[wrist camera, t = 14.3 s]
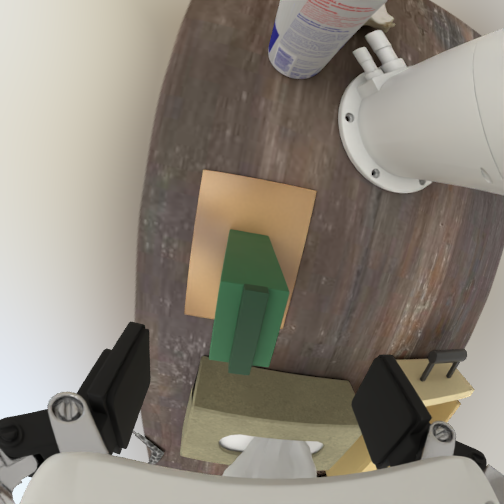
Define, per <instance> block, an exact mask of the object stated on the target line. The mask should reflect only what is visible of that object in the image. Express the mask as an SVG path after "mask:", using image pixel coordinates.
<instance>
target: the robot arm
mask: <svg viewBox="0 0 504 504" xmlns="http://www.w3.org/2000/svg"><path fill="white" fill-rule="evenodd" d="M365 39H366V41H367V42H368V44H369V45H370V47H371V48H372V50H373V52H374V53H376V55H377V56H378V58H379V60H380V61H381V63H382V65H381V66H380V67H378V68H377V66H376V64H375V63H374V61H373V58H372V56H371V55H370V53H369V52H368V50H367V48H366V47H361V48H359V49H357V50H355V51H353V54H354V56H355V58H356V59H357V61H358V62H359V64H361V66H362V68H363V69H364V71H365V72H364V73H362V74H360V75H359V76H357V77H356V78H355V79H354V80H353V81H352V82H351V83H350V84H349V85H348V87H347V88H346V90H345V92H344V94H343V96H342V98H341V102H340V106H339V115H338V124H339V132H340V136H341V140H342V143H343V146H344V149H345V151H346V153H347V155H348V157H349V159H350V160H351V162H352V163H353V165H354V166H355V168H356V169H357V170H358V171H359V172H360V173H361V174H362V175H363V176H364V177H365V178H366V179H367V180H369V181H370V182H371V183H373V184H374V185H376V186H378V187H380V188H382V189H384V190H388V191H391V192H397V193H412V192H416V191H419V190H421V189H423V188H425V187H426V186H428V185H429V184H431V183H432V182H439V183H445V184H451V185H456V186H462V187H467V188H472V189H477V190H482V191H486V192H491V193H495V194H500V195H504V28H503V29H500V30H497V31H494V32H492V33H489V34H486V35H484V36H482V37H479V38H477V39H474V40H472V41H469V42H466V43H464V44H461V45H459V46H457V47H454V48H452V49H449V50H447V51H445V52H442V53H440V54H438V55H436V56H433V57H431V58H429V59H427V60H425V61H422V62H420V63H418V64H416V65H412V66H409V67H407V66H406V64H405V62H404V61H403V59H402V58H399V59H398V57H397V56H396V54H395V52H394V51H393V49H392V47H391V46H392V45H391V44H390V42H389V41H388V39H387V38H386V36H385V34H384V33H383V31H382V30H376V31H373V32H371V33H369V34H367V35H366V36H365ZM345 117H348V119H349V121H347V120H346V118H345ZM372 171H373V172H374V174H373V176H372ZM149 384H150V354H149V330H148V329H145V325H143V324H139V323H135V322H130V323H129V324H128V325H127V327H126V328H125V330H124V332H123V333H122V335H121V336H120V338H119V339H118V341H117V343H116V344H115V346H114V347H113V349H112V350H110V349H105V350H104V351H103V352H102V354H101V355H100V357H99V358H98V360H97V362H96V363H95V365H94V366H93V368H92V370H91V371H90V373H89V374H88V376H87V378H86V379H85V381H84V382H83V384H82V386H81V387H80V389H79V391H78V392H77V394H76V393H72V392H62V393H58V394H56V395H55V396H53V397H52V398H51V399H50V401H49V403H48V409H46V410H42V411H37V412H32V413H28V414H23V415H18V416H13V417H7V418H4V419H1V420H0V504H15V503H14V501H13V497H12V492H13V489H14V488H15V487H16V486H17V485H19V484H20V483H22V481H21V480H22V479H23V478H25V477H27V476H29V477H32V479H31V481H30V482H29V484H28V486H27V488H26V490H25V492H24V495H23V497H22V499H21V502H20V504H504V475H502V474H501V473H500V472H498V471H497V470H496V469H494V468H493V467H492V466H490V465H487V466H486V458H485V456H484V454H483V453H481V452H480V451H478V450H476V449H474V448H471V447H469V446H467V445H464V444H462V443H460V442H458V441H456V433H455V430H454V429H453V427H452V426H451V425H449V424H448V423H446V422H444V421H435V422H433V423H432V424H430V423H429V421H430V420H431V419H432V417H431V415H430V413H429V412H428V410H427V408H426V407H425V405H424V403H423V402H422V400H421V398H420V397H419V395H418V394H417V392H416V390H415V389H414V387H413V386H412V384H411V383H410V381H409V379H408V378H407V376H406V375H405V373H404V372H403V370H402V369H401V367H400V366H399V364H398V363H397V361H396V359H395V358H394V357H393V356H392V355H379V356H378V357H377V358H375V359H374V361H373V363H372V365H371V367H370V369H369V371H368V373H367V374H366V376H365V378H364V380H363V382H362V384H361V385H360V387H359V389H358V391H357V393H356V394H355V396H354V398H353V400H352V404H351V405H352V409H353V412H354V414H355V417H356V420H357V422H358V425H359V428H360V430H361V433H362V436H363V439H364V441H365V444H366V447H367V450H368V452H369V455H370V458H371V461H372V463H373V464H375V465H376V468H377V470H373V471H367V472H361V473H354V474H347V475H338V476H328V477H316V478H296V479H262V478H241V477H229V476H219V475H211V474H203V473H196V472H190V471H184V470H178V469H173V468H168V467H163V466H158V465H153V464H149V463H144V462H140V461H136V460H131V459H126V458H123V457H117V456H112V453H113V452H114V453H117V454H120V453H121V450H122V448H124V449H126V448H127V446H128V444H129V441H130V438H131V435H132V432H133V429H134V426H135V423H136V421H137V418H138V414H139V412H140V409H141V407H142V404H143V401H144V398H145V396H146V393H147V390H148V388H149ZM389 466H390V467H389Z"/></svg>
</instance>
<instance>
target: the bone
mask: <svg viewBox="0 0 504 504" xmlns="http://www.w3.org/2000/svg"><path fill="white" fill-rule="evenodd" d="M393 20H394V18H393V17H392V16H390V15H389V14H388V13H387V11H386V7H385V4H383V5H382V6H381V7H380V8H379V9H378V10H377V11H376V12H375V13H374V14H373V15H372V16H371V17H370V18H369V19H368V20H367V21H366V22H365V23H364V24H363V25H368V26H371V27H373V28H376V29H378V30H382V31H383V32H385V33H387V31H388V30H389V28H390V27H394V26H395V24H394V23H392V21H393Z"/></svg>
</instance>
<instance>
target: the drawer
mask: <svg viewBox="0 0 504 504" xmlns="http://www.w3.org/2000/svg"><path fill="white" fill-rule="evenodd" d="M466 357H467V351H466V350H465V349H451V350H432V351H431V352H430V353H429V356H428V359H409V360H396V361H397V363H398V364H399V366H400V367H401V369H402V370H403V372H404V373H405V375H406V376H407V378H408V379H409V381H410V383H411V384H412V386H413V387H414V389H415V390H416V392H417V394H418V395H419V397H420V398H421V400H422V402H423V403H424V405H425V407H426V408H427V410H428V412H429V413H430V415H431V417H432V419H431V420H430V421H429V423H430V424H432V423H433V422H435V421H444V422H446V423H447V422H448V420H449V419H450V418H451V416H452V415H453V414H454V413H455V411H456V410H457V409H458V407H459V406H460V405H461V403H460V402H459V401H458V399H462V398H466V397H470V396H471V394H472V393H473V391H474V388H473V387H472V386H471V385H470V384H469V383H468V381H467V380H466V379H465V378H464V377H463V376H462V374H461V373H460V372H459V371H458V370H457V369H456V368H457V366H458V364H459V363H460V362H461V361H464V360H465V359H466ZM452 362H454V363H453V364H452Z"/></svg>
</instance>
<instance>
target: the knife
mask: <svg viewBox="0 0 504 504" xmlns="http://www.w3.org/2000/svg"><path fill="white" fill-rule="evenodd" d="M133 433H134V434H135V436H137V437H138V438H139V439H140V440H141V441H142V442H143V443H145V444H146V445H147V446H148V447H149V448H150V449H151V451H152V455H151V458H150V460H149V461H150V462H148V463H149V464H153V463H154V464H155V463H157V462H158V461H159V460H160V459H161V457H162V456H163V454H164V453H163V452H162V451H161V450H159V449H158V448H157V447H156V446H155V445H153V444H152V443H151V442H150V441H148V440H147V439H146V438H144V437H143V436H142V435H140V434H139V433H136V432H135V431H133Z"/></svg>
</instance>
